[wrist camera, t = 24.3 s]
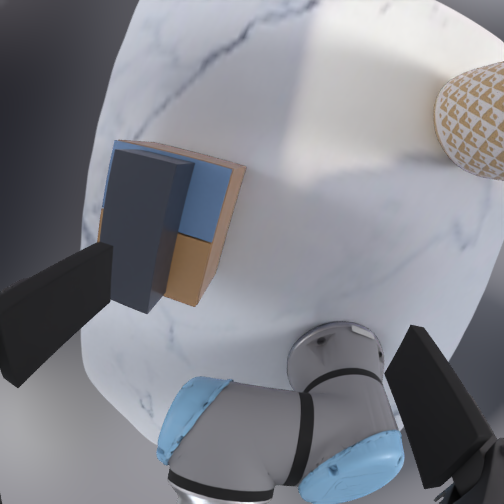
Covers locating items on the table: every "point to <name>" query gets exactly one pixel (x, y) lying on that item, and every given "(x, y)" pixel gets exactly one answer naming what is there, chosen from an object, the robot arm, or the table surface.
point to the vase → (473, 121)
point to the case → (143, 223)
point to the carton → (194, 249)
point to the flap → (194, 193)
